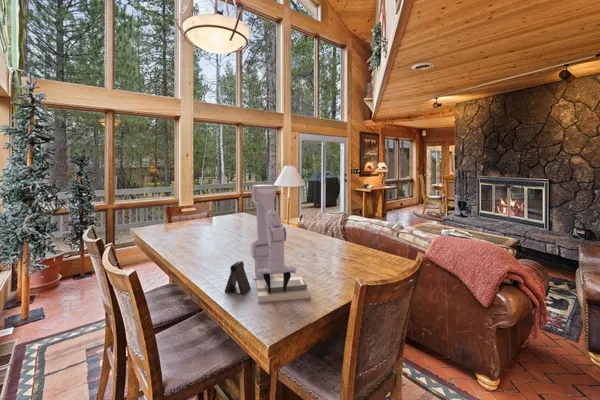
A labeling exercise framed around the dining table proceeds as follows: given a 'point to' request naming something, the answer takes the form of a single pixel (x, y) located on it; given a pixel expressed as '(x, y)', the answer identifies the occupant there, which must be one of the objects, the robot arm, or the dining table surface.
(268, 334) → the dining table surface
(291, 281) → the cover
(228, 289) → the black folding stand
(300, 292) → the duct deck
